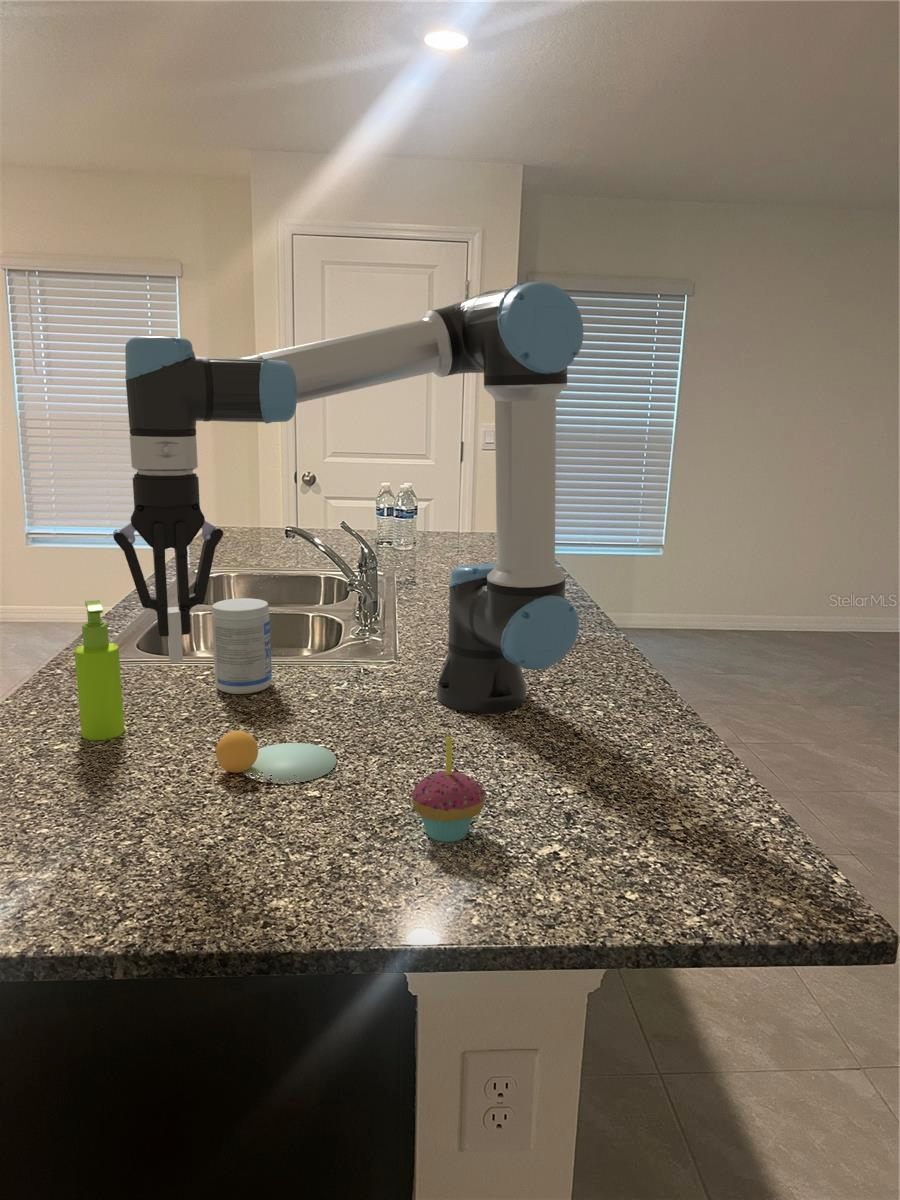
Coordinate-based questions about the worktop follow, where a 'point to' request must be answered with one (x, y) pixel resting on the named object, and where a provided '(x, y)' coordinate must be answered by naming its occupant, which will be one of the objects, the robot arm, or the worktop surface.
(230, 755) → the ball
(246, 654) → the supplement tub
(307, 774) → the smooth pale green disc
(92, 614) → the soap dispenser
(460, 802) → the cupcake
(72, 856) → the worktop surface
